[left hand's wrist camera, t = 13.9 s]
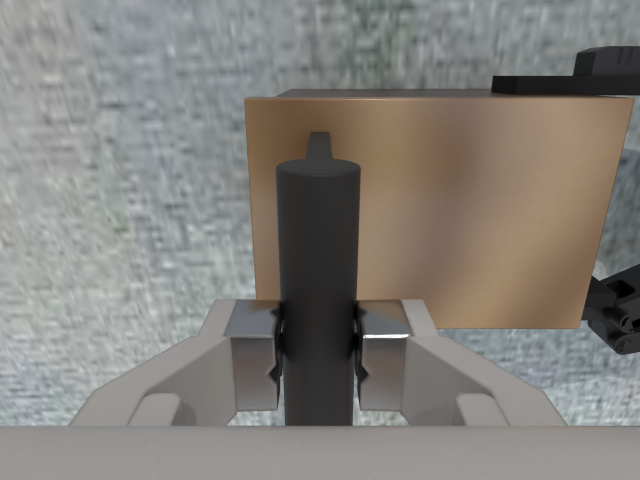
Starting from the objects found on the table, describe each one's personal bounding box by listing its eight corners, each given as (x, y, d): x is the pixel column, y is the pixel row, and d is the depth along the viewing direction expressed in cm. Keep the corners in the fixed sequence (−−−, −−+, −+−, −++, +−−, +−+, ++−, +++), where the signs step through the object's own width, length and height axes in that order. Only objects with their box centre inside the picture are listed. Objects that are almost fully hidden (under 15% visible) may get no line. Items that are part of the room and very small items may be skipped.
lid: (261, 314, 20) (214, 497, 11) (249, 97, 16) (169, 120, 8) (565, 315, 20) (750, 500, 11) (615, 96, 16) (935, 119, 8)
